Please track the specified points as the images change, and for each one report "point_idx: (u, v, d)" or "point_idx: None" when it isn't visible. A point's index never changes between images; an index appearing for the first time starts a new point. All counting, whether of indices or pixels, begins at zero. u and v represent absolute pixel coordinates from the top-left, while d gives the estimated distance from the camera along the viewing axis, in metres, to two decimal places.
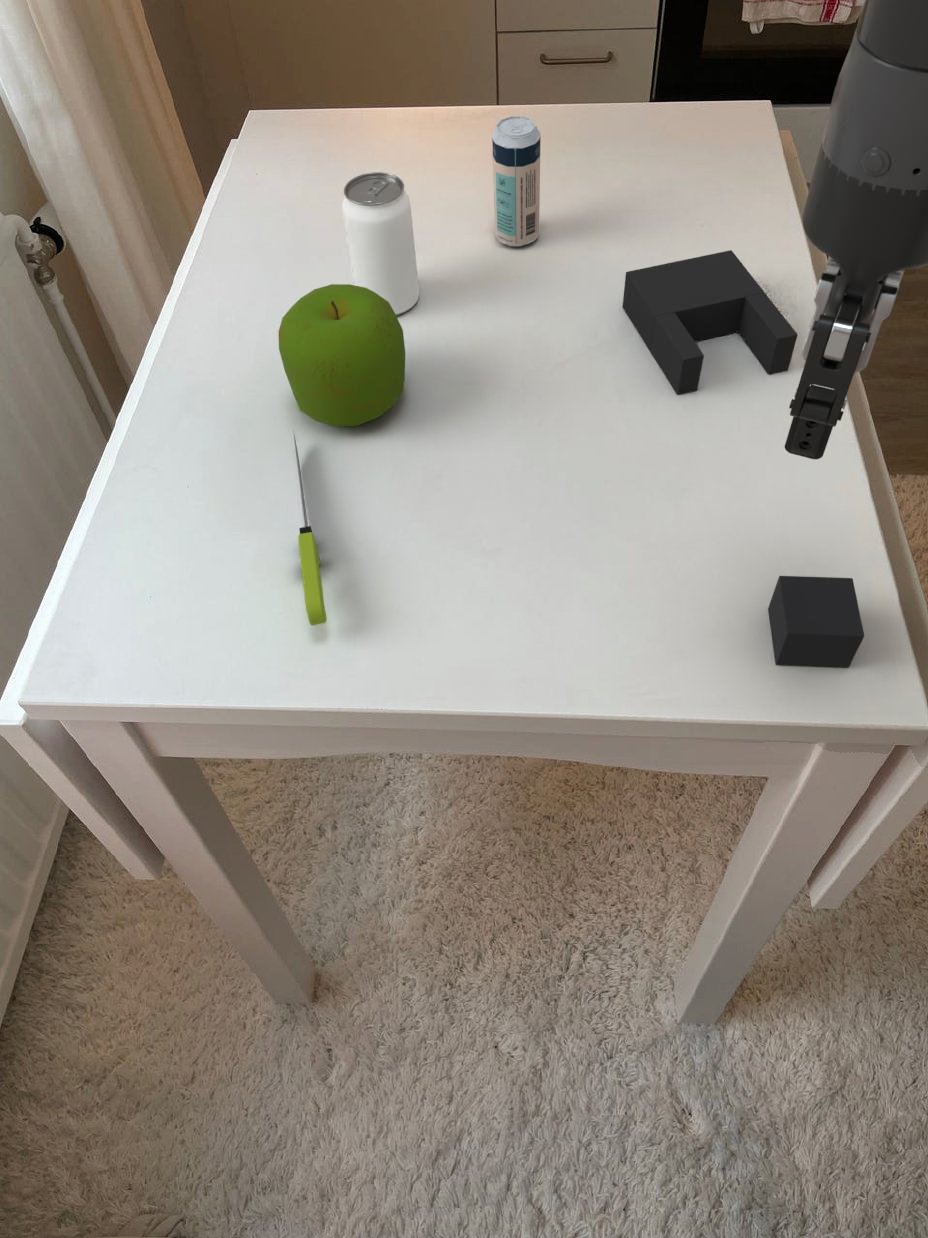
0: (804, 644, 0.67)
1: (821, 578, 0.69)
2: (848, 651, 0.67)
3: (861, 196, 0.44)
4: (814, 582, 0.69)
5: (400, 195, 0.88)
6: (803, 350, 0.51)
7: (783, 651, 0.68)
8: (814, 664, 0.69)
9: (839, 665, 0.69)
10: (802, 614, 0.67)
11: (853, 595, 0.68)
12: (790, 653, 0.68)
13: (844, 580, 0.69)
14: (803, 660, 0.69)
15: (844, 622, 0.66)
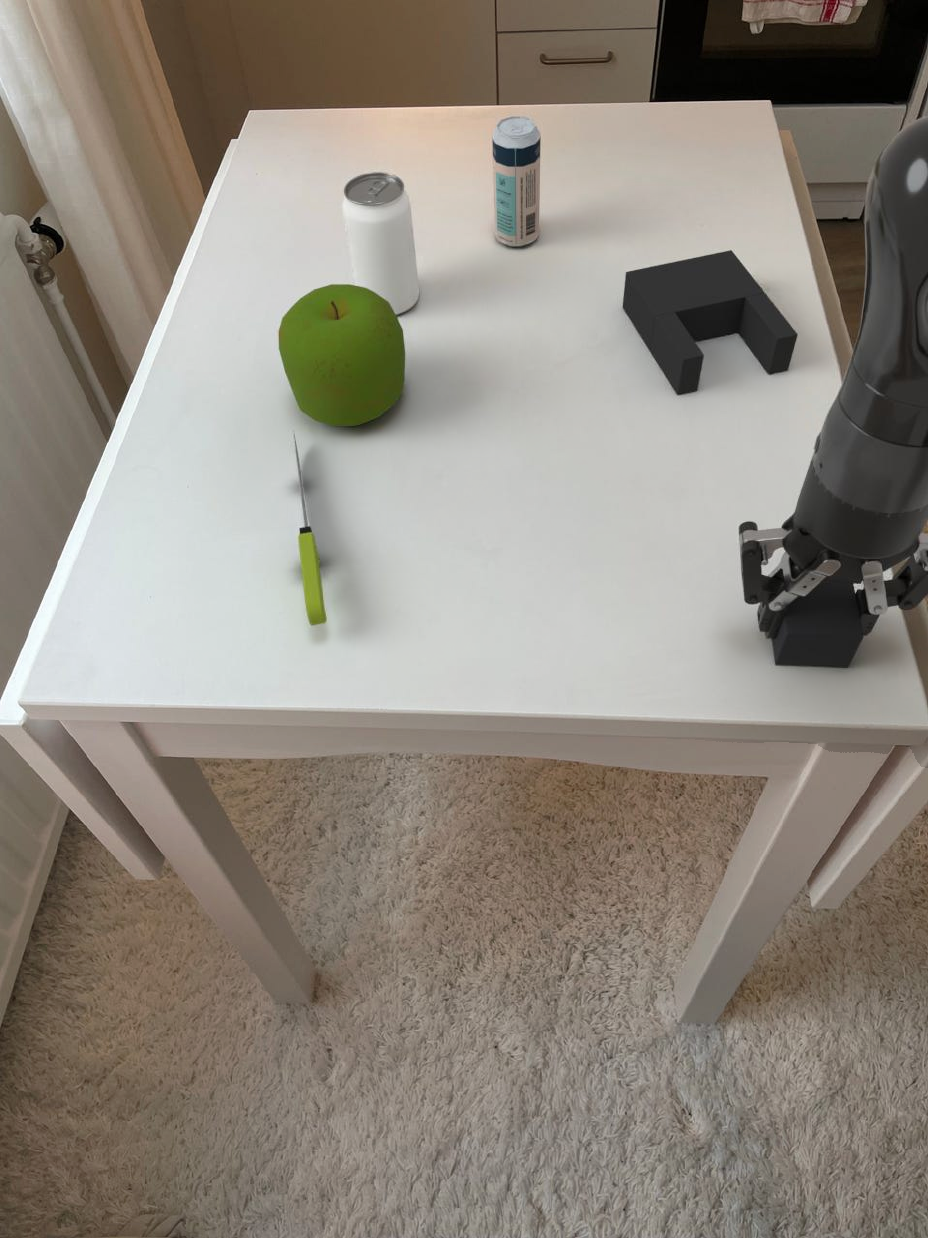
0: (803, 644, 0.67)
1: None
2: (848, 651, 0.67)
3: None
4: None
5: (401, 195, 0.88)
6: (784, 553, 0.66)
7: (782, 651, 0.68)
8: (814, 664, 0.69)
9: (838, 666, 0.69)
10: (801, 614, 0.67)
11: (853, 595, 0.68)
12: (790, 653, 0.68)
13: None
14: (803, 660, 0.69)
15: (844, 622, 0.66)
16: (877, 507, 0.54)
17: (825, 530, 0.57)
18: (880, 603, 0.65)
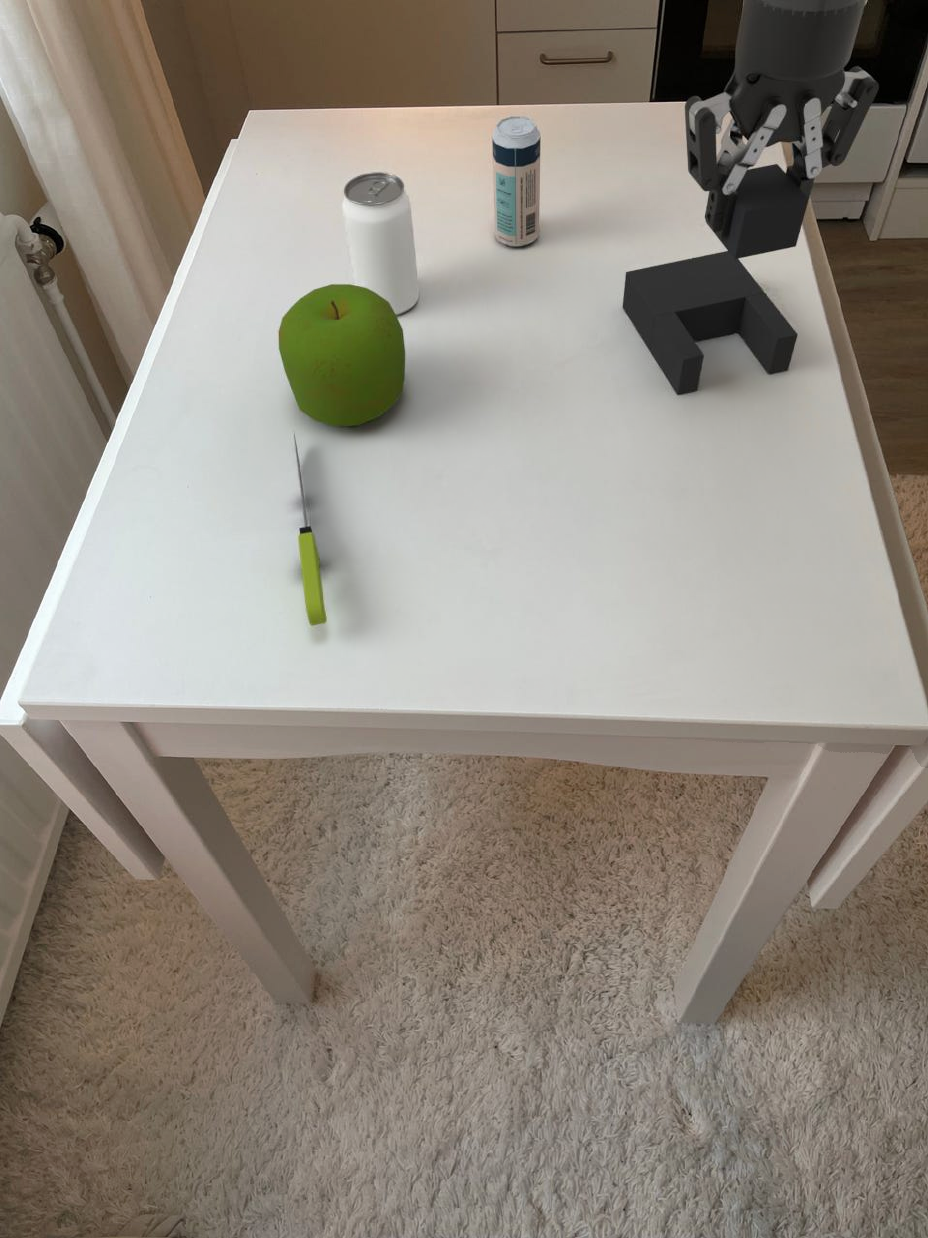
0: (758, 223, 0.71)
1: (751, 169, 0.73)
2: (795, 223, 0.72)
3: (745, 0, 0.62)
4: (747, 173, 0.73)
5: (401, 195, 0.88)
6: (722, 137, 0.69)
7: (741, 238, 0.72)
8: (767, 249, 0.73)
9: (788, 245, 0.74)
10: (749, 196, 0.71)
11: (784, 174, 0.73)
12: (747, 239, 0.72)
13: (771, 166, 0.73)
14: (758, 246, 0.73)
15: (787, 193, 0.71)
16: (825, 4, 0.58)
17: (777, 57, 0.61)
18: (816, 161, 0.70)
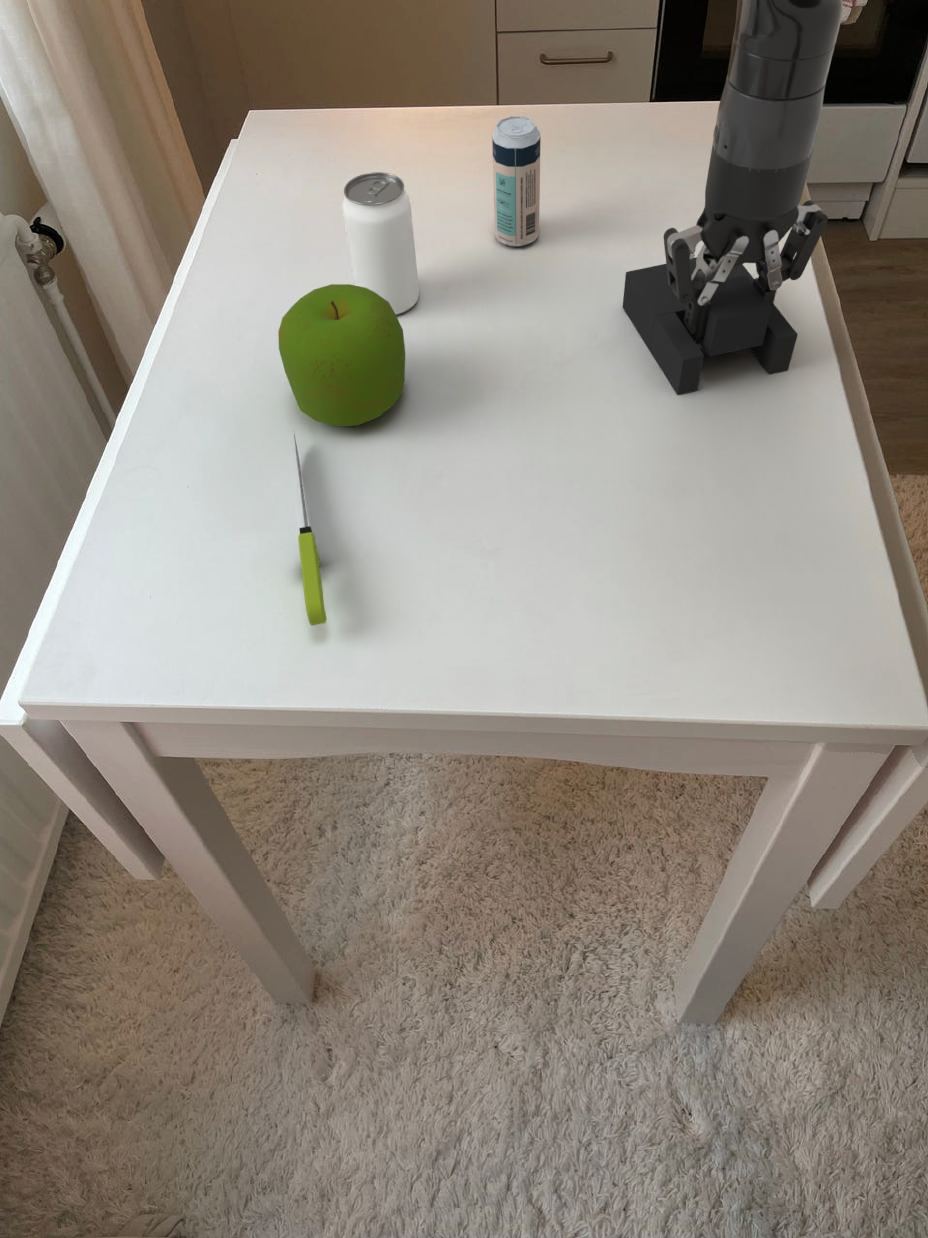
0: (729, 328, 0.83)
1: None
2: (761, 327, 0.84)
3: (712, 154, 0.74)
4: (720, 283, 0.85)
5: (401, 195, 0.88)
6: (697, 257, 0.82)
7: (714, 340, 0.84)
8: (737, 348, 0.85)
9: (755, 344, 0.86)
10: (721, 305, 0.83)
11: (751, 285, 0.85)
12: (719, 340, 0.84)
13: (740, 277, 0.86)
14: (729, 345, 0.85)
15: (753, 302, 0.83)
16: (776, 164, 0.71)
17: (738, 202, 0.74)
18: (776, 277, 0.82)
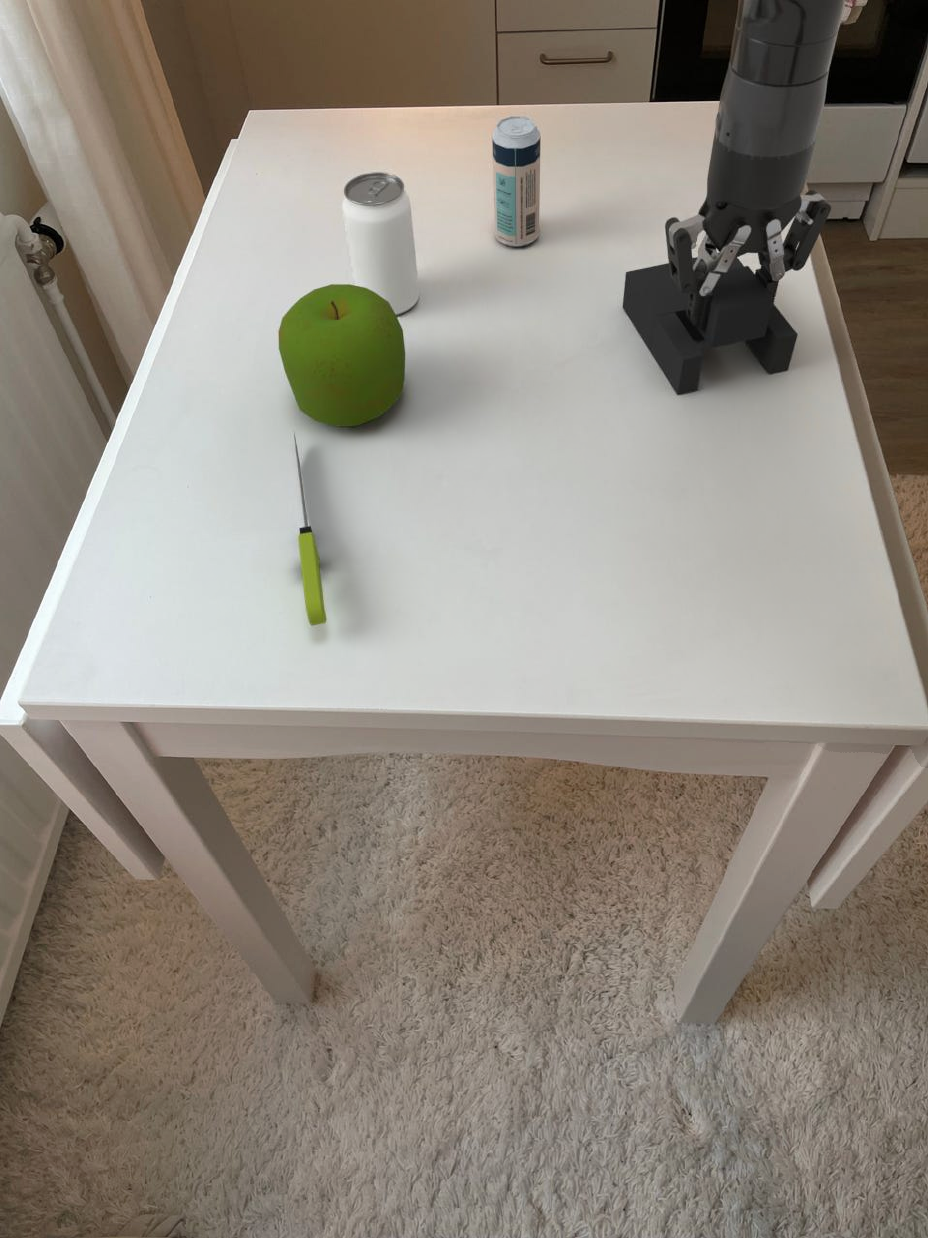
0: (731, 319, 0.83)
1: None
2: (763, 318, 0.84)
3: (714, 142, 0.73)
4: (722, 274, 0.84)
5: (401, 195, 0.88)
6: (699, 247, 0.81)
7: (716, 331, 0.83)
8: (739, 339, 0.85)
9: (757, 335, 0.85)
10: (722, 295, 0.83)
11: (754, 275, 0.84)
12: (721, 332, 0.83)
13: (743, 268, 0.85)
14: (731, 337, 0.84)
15: (755, 293, 0.83)
16: (779, 151, 0.70)
17: (740, 190, 0.73)
18: (779, 267, 0.81)
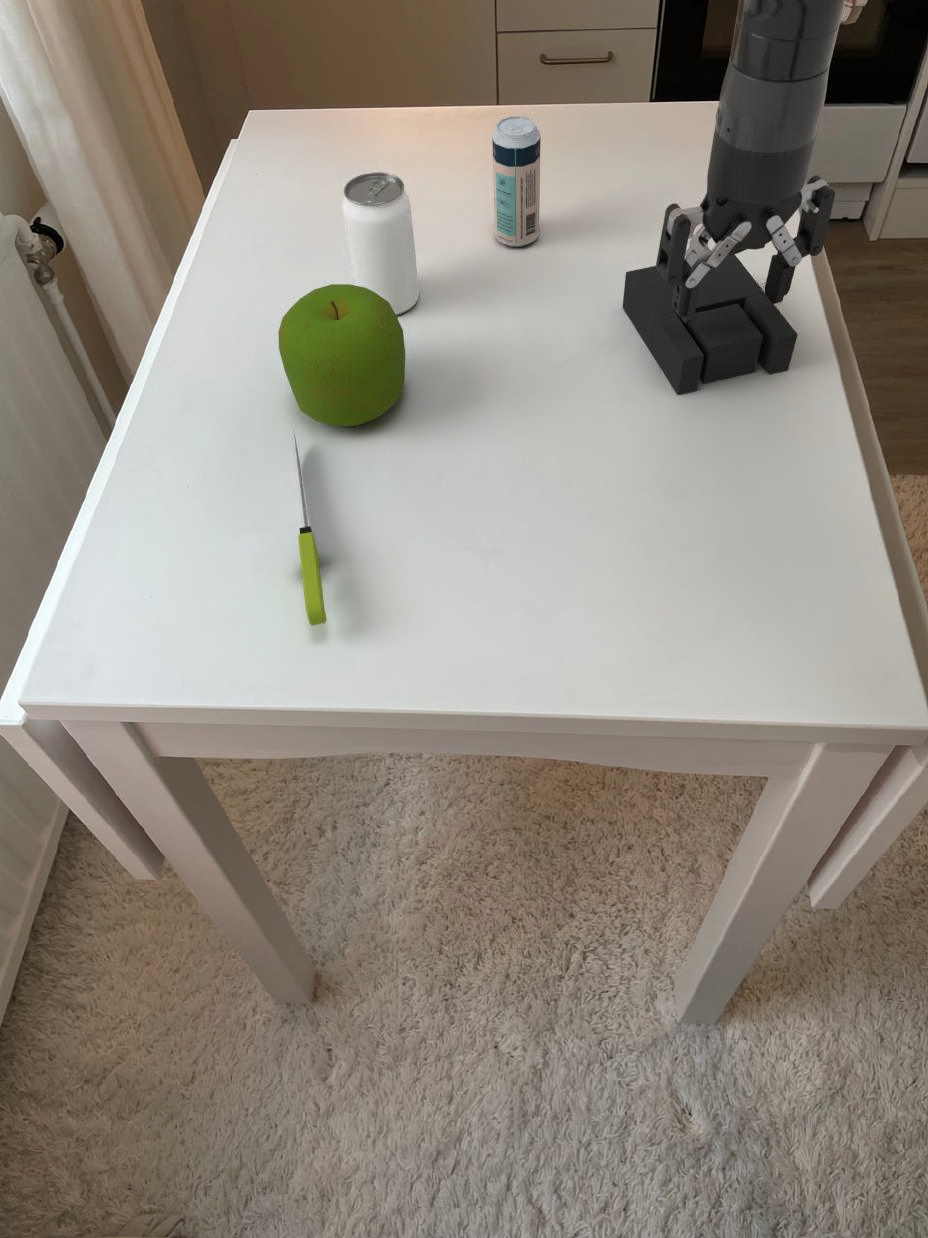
0: (722, 356, 0.86)
1: (716, 309, 0.88)
2: (753, 354, 0.87)
3: (714, 138, 0.73)
4: (713, 313, 0.88)
5: (401, 195, 0.88)
6: None
7: (707, 368, 0.86)
8: (730, 375, 0.88)
9: (748, 371, 0.88)
10: (714, 334, 0.86)
11: (743, 313, 0.87)
12: (713, 368, 0.87)
13: (733, 306, 0.88)
14: (722, 373, 0.87)
15: (745, 331, 0.86)
16: (779, 147, 0.70)
17: (741, 186, 0.73)
18: (796, 253, 0.81)
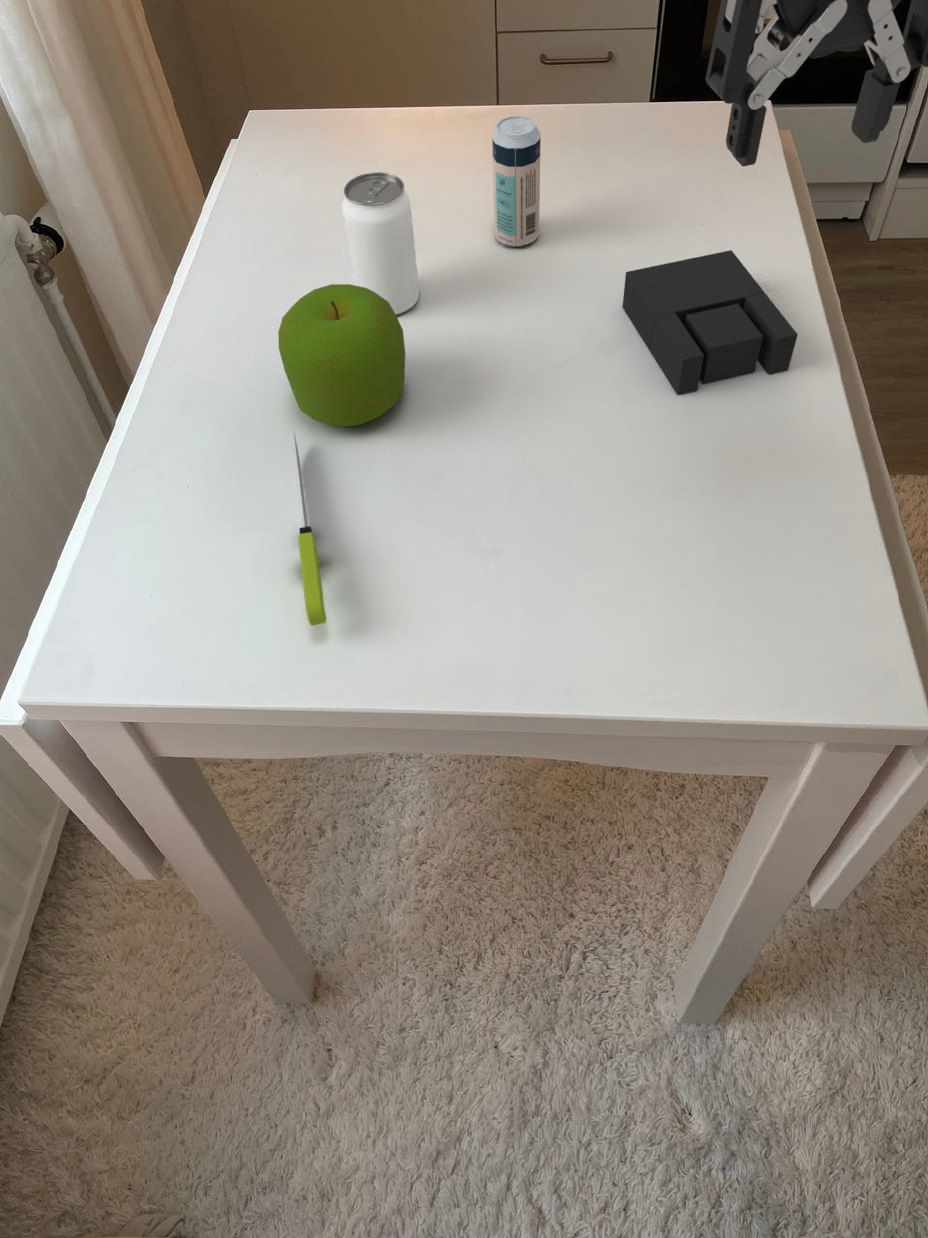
0: (722, 356, 0.86)
1: (716, 309, 0.88)
2: (753, 354, 0.87)
3: None
4: (713, 313, 0.88)
5: (401, 195, 0.88)
6: (757, 39, 0.57)
7: (707, 368, 0.86)
8: (730, 375, 0.88)
9: (748, 371, 0.88)
10: (714, 334, 0.86)
11: (743, 313, 0.87)
12: (713, 368, 0.87)
13: (733, 306, 0.88)
14: (722, 373, 0.87)
15: (745, 331, 0.86)
16: None
17: None
18: (904, 60, 0.58)
